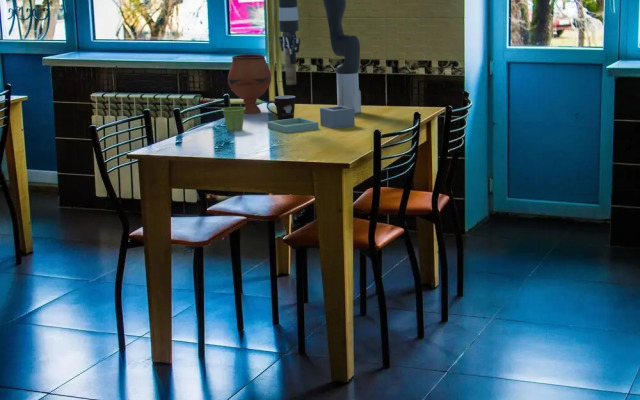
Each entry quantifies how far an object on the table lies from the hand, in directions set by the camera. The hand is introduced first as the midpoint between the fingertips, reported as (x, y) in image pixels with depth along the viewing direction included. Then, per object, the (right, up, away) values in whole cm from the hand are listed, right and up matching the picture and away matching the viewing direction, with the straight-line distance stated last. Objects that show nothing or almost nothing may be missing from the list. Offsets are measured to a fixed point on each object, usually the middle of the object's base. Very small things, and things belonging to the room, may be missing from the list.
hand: (290, 63), depth 407 cm
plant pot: (-22, -26, +7) cm, 35 cm away
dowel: (0, -8, +2) cm, 8 cm away
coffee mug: (-4, -21, +25) cm, 33 cm away
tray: (+1, -25, +6) cm, 26 cm away
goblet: (-19, -15, +50) cm, 56 cm away
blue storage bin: (+19, -24, +9) cm, 32 cm away
